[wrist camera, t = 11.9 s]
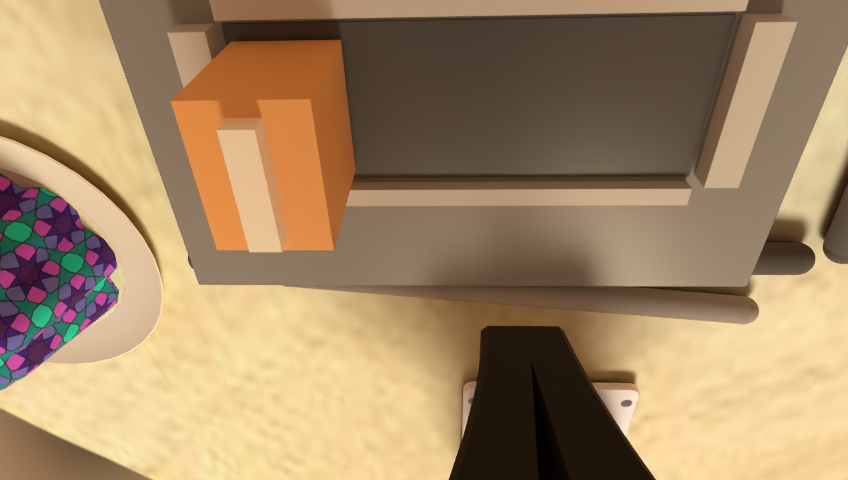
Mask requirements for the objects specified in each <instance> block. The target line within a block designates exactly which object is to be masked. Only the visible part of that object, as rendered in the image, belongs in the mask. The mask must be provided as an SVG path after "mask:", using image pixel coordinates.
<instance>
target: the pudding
mask: <svg viewBox="0 0 848 480" xmlns="http://www.w3.org/2000/svg"><path fill="white" fill-rule="evenodd" d="M0 169H3V170H7V171H10V172H13V173H16V174H20V175H22V176H25V177H27V178H29V179H31V180H34V181H36V182H38V183H40V184H43V185H44V186H46V187H48V188H50V189H51V190H53V191H55V192H56V193H58V194H60V195H62V196H63V197H64V198H66V199H67V200H69V201H70V202H71V203H73V204H74V205H75V206H77V207H78V208H79V209H81V210H82V211H83V212H84V213H85V214H86V215H87V216H88V217H89V218H90V219H91V220H92V221H94V222H95V223H96V225H97V226H98V227H99V228H100V229H101V231H102V232H103V233H104V234H105V235H106V237H107V238H108V239H109V241H110V243H111V244H112V246H113V248H114V249H115V251H116V253H117V255H118V258H119V260H120V263H121V265H122V269H123V275H124V293H123V295H122V298H121V301H120V304H119V305H118V306H117V308H116V309H115V310H114V312H113V313H112V314H110V315H109V316H108V317H107V318H105V319H104V320H102V321H100V322H98V323H96V324H94V325H91V324H92V323H93V322H95V321H96V320H97V319H98V318H100V317H101V316H102V315H103V314H105V313H106V312H107V311H108V310H110V309H111V308H112V307H113V306H114V305H115V304H116V303H117V301H118V295H119V290H118V289H117V287H116V286H115V284H114V283H113V281H112V280H111V279H110V275H111V274H112V273H113V272H114V270H115V269H116V268H117V262H116V258H115V254H114V252H113V250H112V249H111V248H110V246H109V245H108V244H107V243H106V241H105V240H104V239H103V238H101V237H100V236H98V235H96V234H94V233H92V232H90V231H88V230H86V229H84V228H83V225H82V223H81V220H80V217H79V215H78V212H77V211H76V210H75V209H74V208H73V207H72V206H71V205H69V204H68V203H67V202H66V201H65V200H64V199H62V198H61V197H59V196H57V195H55V194H53V193H51V192H49V191H47V190H45V189H43V188H20V187H19V186H17V185H16V184H15V183H13V182H12V181H11V180H9V179H8V178H7V177H5V176H4V175H3V174H1V173H0V390H2V389H5V388H7V387H8V386H10V385H12V384H13V383H14V382H15V381H17V380H19V379H22V378H23V377H25V376H27V375H28V374H29V373H31V372H32V371H33V370H34V369H36V368H37V367H38V366H39V365H41V364H42V363H43V362H48V363H56V364H85V363H97V362H101V361H105V360H110V359H114V358H117V357H119V356H121V355H124V354H126V353H128V352H131V351H132V350H134V349H135V348H137V347H138V346H139V345H141V344H142V343H143V342H145V341H146V340H147V338H148V337H149V336H150V335H151V334H152V332H153V331H154V330H155V329H156V326H157V324H158V322H159V319H160V317H161V315H162V309H163V301H164V293H163V285H162V278H161V275H160V272H159V269H158V266H157V263H156V260H155V258H154V256H153V254H152V252H151V251H150V249H149V247H148V245H147V244H146V242H145V240H144V238H143V237H142V235H141V234H140V233H139V231H138V230H137V229H136V228H135V226H134V225H133V224H132V222H131V221H130V220H129V219H128V217H127V216H126V215H125V214H124V213H123V212H122V211H121V210H120V209H119V208H118V207H117V206H116V205H115V204H114V203H113V202H112V201H111V200H110V199H109V198H108V197H107V196H106V195H105V194H104V193H102V192H101V191H100V190H98V189H97V188H96V187H94V186H93V185H92V184H91V183H89V182H88V181H87V180H85V179H84V178H83V177H81V176H80V175H79V174H77V173H76V172H74V171H73V170H71V169H69V168H68V167H66V166H64V165H62V164H61V163H59V162H57V161H56V160H54V159H52V158H51V157H49V156H47V155H45V154H43V153H41V152H39V151H36V150H34V149H32V148H30V147H28V146H25V145H23V144H21V143H19V142H17V141H14V140H11V139H8V138H5V137H2V136H0ZM90 325H91V326H90Z"/></svg>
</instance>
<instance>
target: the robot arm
mask: <svg viewBox="0 0 848 480" xmlns="http://www.w3.org/2000/svg"><path fill="white" fill-rule="evenodd" d="M638 399H639V390H638V387H637V386H636V385H634V384H632V383H591V381H590V379H589V378H588V376H587V374H586V372H585V371H584V369H583V367H582V365H581V364H580V362H579V360H578V358H577V356H576V354H575V353H574V351H573V349H572V347H571V345H570V343H569V341H568V339H567V337H566V335H565V333H564V331H563V330H562V329H561V328H560V327H558V326H487V327H486V328H484V329H483V330H481V339H480V362H479V372H478V377H477V381H471V382H468V383H466V384H465V385H464V387H463V412H462V441H461V444H460V447H459V450H458V453H457V456H456V459H455V462H454V465H453V469H452V472H451V475H450V478H449V480H656V479H655V478H654V476H653V475H652V474H651V472H650V471H649V469H648V468H647V467H646V465H645V464H644V463H643V461H642V460H641V458H640V457H639V455H638V454H637V453H636V451H635V450H634V448H633V447H632V445H631V444H630V442H629V441H628V439H627V438H626V436H627V433H628V430H629V427H630V424H631V421H632V418H633V414H634V411H635V408H636V405H637V402H638Z"/></svg>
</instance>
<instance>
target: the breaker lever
mask: <svg viewBox="0 0 848 480" xmlns="http://www.w3.org/2000/svg"><path fill="white" fill-rule="evenodd" d="M171 104H172V107H173V111H174V114H175V117H176V120H177V123H178V127H179V130H180V133H181V136H182V139H183V143H184V146H185V149H186V152H187V155H188V159H189V162H190V165H191V168H192V171H193V175H194V178H195V181H196V184H197V188H198V191H199V194H200V197H201V200H202V204H203V207H204V210H205V213H206V216H207V220H208V223H209V226H210V229H211V232H212V236H213V239H214V242H215V245H216V248H217V250H249V252H283V250H334V248H335V244H336V240H337V237H338V233H339V229H340V226H341V222H342V218H343V215H344V211H345V207H346V204H347V200H348V196H349V193H350V189H351V185H352V182H353V178H354V175H355V171H356V169H355V160H354V151H353V143H352V134H351V125H350V116H349V107H348V99H347V90H346V81H345V72H344V63H343V55H342V46H341V40H292V41H232V42H230V43H229V44H228V45H227V46H226V47H225V48H224V49H223V50H222V51H221V52H220V53H219V54H218V55H217V56H216V57H215V58H214V59H213V60H212V61H211V62H210V63H209V64H208V65H207V66H206V67H205V68H204V69H203V70H202V71H201V72H200V73H199V74H197V75H196V76H195V77H194V78H193V79H192V80H191V81H190V82H189V83H188V84H187V85H186V86H185V87H184V88H183V89H182V90H181V91H180V92H179V93H178V94H177V95H176V96H175V97H174V98H173V99H172V100H171Z"/></svg>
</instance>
